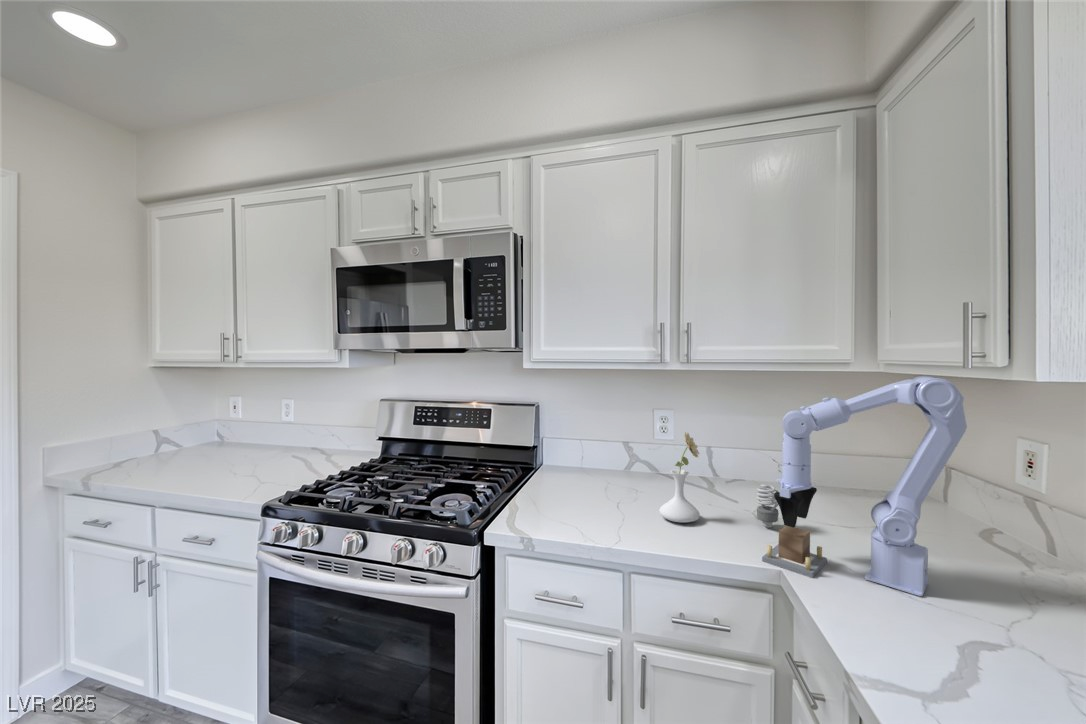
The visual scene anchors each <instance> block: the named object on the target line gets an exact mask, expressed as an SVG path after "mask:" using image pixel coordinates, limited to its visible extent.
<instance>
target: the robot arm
mask: <svg viewBox="0 0 1086 724" xmlns="http://www.w3.org/2000/svg"><path fill="white" fill-rule="evenodd" d="M964 399H965V397H964V396H963V395H962V393H961V392H960V391H959V389H958V387H956V385H955V384H954V383H953V382H951V381H949V380H948V379H944V378H941V377H936V378H935V376H929V375H922V376H921V375H920V376H917V377H914V378H913V379H911V378H910V379H903V380H900V381H896V382H892V383H890V384H886V385H884V386H881V387H879V388H875V389H873V390H871V391H868V392H865V393H862V394H860V395H857V396H856V395H855V396H854V397H851V398H849V399H846V400H842V399H840V398H838V397H833V398H830V397H824V398H822V399H821V400H822V401H820V402H818V403H814V404H811V405H808V406H805V405H802V406H799V408H800V410H796V409H795V410H790V411H787V413H785V415H783V418H782V421H781V424H782V429H783V435H782V438H783V441H782V445H781V446H782V449H781V453H782V454H781V456H782V458H781V459H782V460H781V461H782V462H781V463H782V466H781V471H782V472H781V477H778V478H776V482H777V483H779V484H780V487H779V492H776V491H775V492H776V493H774V497H775V499H776V501H777V503H778V507H779V509H780V510H779V511H780V513H781V517H782V522H783V524H784V526H790V527H795V528H796V525H797V521H798V518H801V519H807V517H808V514H809V510H810V506H811V503H812V499H813V498H814V497H815V494H816V493H817V492H818V489H817V487H813V486H812V475H811V472H812V471H811V470H812V468H811V460H812V457H811V456H812V455H811V454H812V445H811V443H810V442H811V441H810V439H811V436H810V435H811V434H812V432H813V431H815V432H818V431H822V430H823V431H824V430H826V429H828V428H832V427H835V426H839V425H842V424H845V423H848V422H849V419H850V418H851V416H852V415H854V414H857V413H861V412H864V411H869V410H871V409H875V408H878V407H882V406H886V405H890V404H894V403H897V404H903V405H904V404H905V405H909V406H910V405H912V406H915V405H916V407H918V408H919V409H920V410H921V411H922V413H923V415H924V416H925V418H926V419H927V421H928V423H929V427H928V429H927V431H926V433H925V434H924V435H923V437H922V439H921V441H920V442H919V445H918V446H917V448H916V450H915V451H914V453H913V455H912V457H911V458H910V460H909V462H908V464H907V465H906V467H905V468H904V470H903V473H902V474H901V476H900V477H899V479H898V481H897V483H896V484H895V486H894V488H893V489H892V490H891V491H889V492H887V493H886V495H885V496H884V498H883V499H882V500H881V501H879V502H877V503H876V504H873V506H872V508H871V511H870V516H871V519H872V521H873V522H874V524H875V525H876V526H875V527H874V529H873V530H871V533H870V534H871V535H870V569H869V570H868V572H866V574H865V575H864V579H865V580H867V581H869V582H874V583H876V584H879V585H882V586H887V587H889V588H893V589H896V590H899V591H903V592H905V593H908V594H911V595H915V596H918V597H923V596H924V593H925V591H926V589H927V586H928V584H929V575H928V574H929V573H928V569H929V568H928V567H929V550H928V547H926V546H923V545H920V544H918V543H916V542H915V539H916V537H917V533H918V529H917V526H918V525H917V524H918V522H919V521H920V519H921V513H922V512H921V511H922V509H921V508H922V504H923V503H924V501H925V499H926V498H927V496H928V495H929V493H930V491H931V489H932V488H933V486H934V484H935V483H936V481H937V479H938V477H939V476H940V475H941V473H942V472H943V470H944V468H945V466H946V464H947V462H949V459H950V458H951V456H952V454H953V453H954V452H955V450H956V448H957V447H958V444H959V443H960V442H961V440H962V438H963V436H964V434H965V433H966V430H967V420H966V415H965V414H966V413H965V408H964Z"/></svg>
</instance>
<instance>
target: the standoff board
mask: <svg viewBox="0 0 1086 724" xmlns="http://www.w3.org/2000/svg"><path fill="white" fill-rule="evenodd" d="M766 550H767V551H766V553H765V554H764V555H763V556H761V562H764V563H766V564H770V565H773V566H776V567H779V568H781V569H784V570H787V571H790V572H794V573H796V574H799V575H802V576H806V577H808V578H812V579H813V578H814V577H815V576H816V574H818V572H820V571H821V569H822V568H823V567H824V566H825V565H826V564H827V563H828V557H825V556H823V547H822V546H820V545H819V546H816V554H814V553H812V552H810V557H806V559H805V562H804V563H803V564H800V563H797V562H794V561H791V560H788V559H785V558H782V557H778V555H779V543H778V544H776V545H775V546H774V547H773V545H767V549H766Z"/></svg>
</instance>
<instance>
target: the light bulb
mask: <svg viewBox="0 0 1086 724" xmlns="http://www.w3.org/2000/svg"><path fill="white" fill-rule="evenodd" d="M756 491H757V492H756V497H755V498H756V499H757V501H756V502H757V504H758V506H757V508H756V517H757V519H758V520H759V521H762V522H761V523H762V526H763V527H765V528H766V529H770V528H772V527H773V523H776V522H778V519H779V509H778V507H779V505H778V503H777V501H776V499H775V497H774V493H776V492H780V490H779V489H778V488H776V487H774V486H773V485H771V484H760V487H758V488H756Z"/></svg>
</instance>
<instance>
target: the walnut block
mask: <svg viewBox="0 0 1086 724" xmlns="http://www.w3.org/2000/svg"><path fill="white" fill-rule="evenodd" d="M778 544H779V555H778V557H782V558H785V559H788V560H791V561H794V562H797V563H800V564H803V563H804V562H805V559H806V557H810V553H811V531H810V530H806V529H802V528H798V527H796V526H795V527H790V526H786V525H784V526H783V528H781V529H779V530H778Z"/></svg>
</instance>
